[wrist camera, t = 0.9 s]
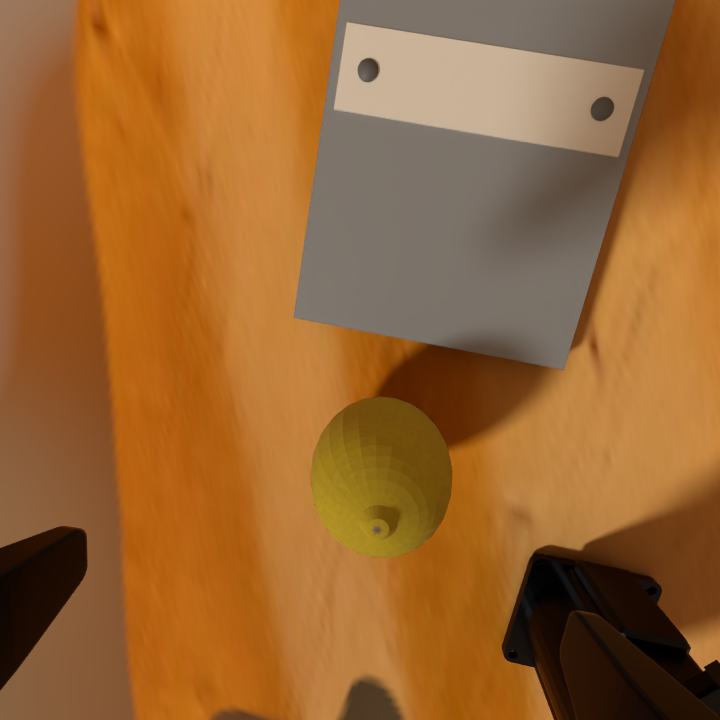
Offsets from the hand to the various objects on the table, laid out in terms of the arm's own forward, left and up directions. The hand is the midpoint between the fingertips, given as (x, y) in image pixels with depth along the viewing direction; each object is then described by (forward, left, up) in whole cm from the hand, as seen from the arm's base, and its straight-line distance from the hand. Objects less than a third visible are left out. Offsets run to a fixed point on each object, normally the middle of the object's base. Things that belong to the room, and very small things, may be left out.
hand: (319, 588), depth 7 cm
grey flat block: (+10, -2, -12) cm, 16 cm away
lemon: (-2, -1, -13) cm, 13 cm away
